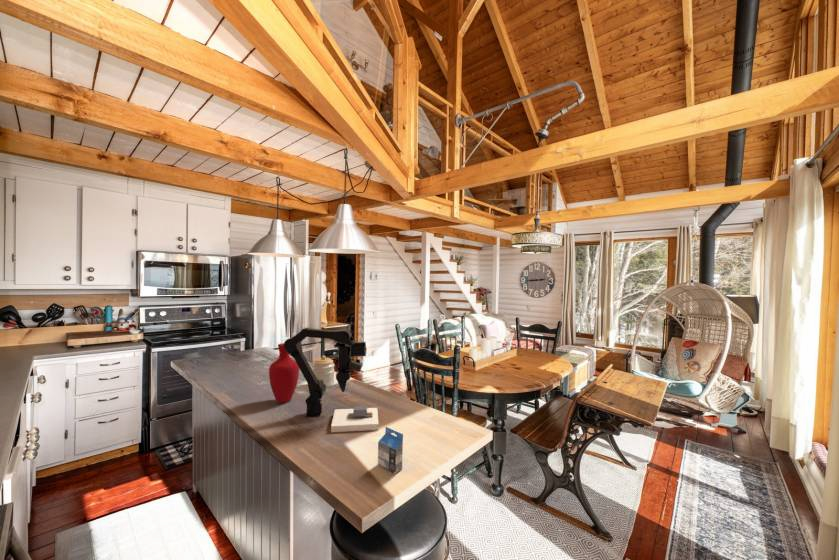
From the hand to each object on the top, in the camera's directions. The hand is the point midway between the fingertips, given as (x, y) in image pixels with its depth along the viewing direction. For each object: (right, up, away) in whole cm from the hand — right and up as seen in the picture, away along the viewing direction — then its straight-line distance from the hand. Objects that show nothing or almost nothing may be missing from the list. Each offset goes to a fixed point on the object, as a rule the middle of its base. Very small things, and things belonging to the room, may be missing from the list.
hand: (343, 388), depth 163 cm
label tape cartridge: (+26, -14, -43) cm, 52 cm away
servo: (+9, -13, -7) cm, 17 cm away
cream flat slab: (+7, -13, -8) cm, 17 cm away
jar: (-22, -12, +43) cm, 50 cm away
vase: (-35, -12, +16) cm, 40 cm away
